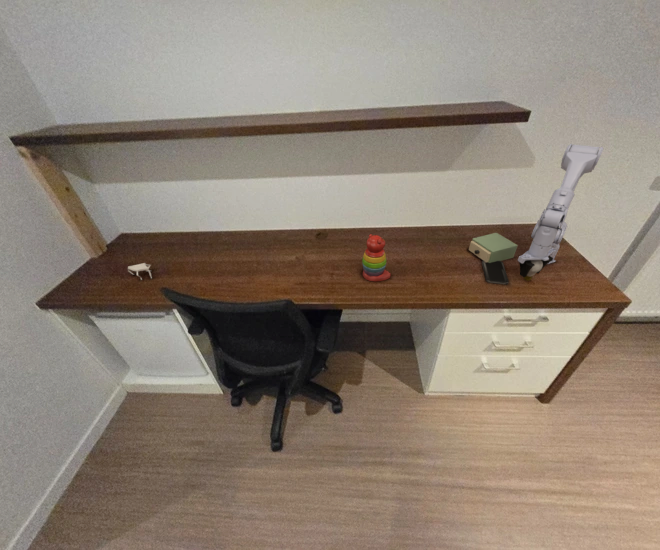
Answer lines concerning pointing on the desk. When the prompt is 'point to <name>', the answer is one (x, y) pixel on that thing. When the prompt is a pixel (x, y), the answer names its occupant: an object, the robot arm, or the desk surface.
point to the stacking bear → (375, 260)
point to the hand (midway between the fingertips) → (528, 273)
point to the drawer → (479, 251)
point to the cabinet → (497, 246)
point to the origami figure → (139, 268)
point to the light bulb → (534, 269)
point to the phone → (495, 272)
